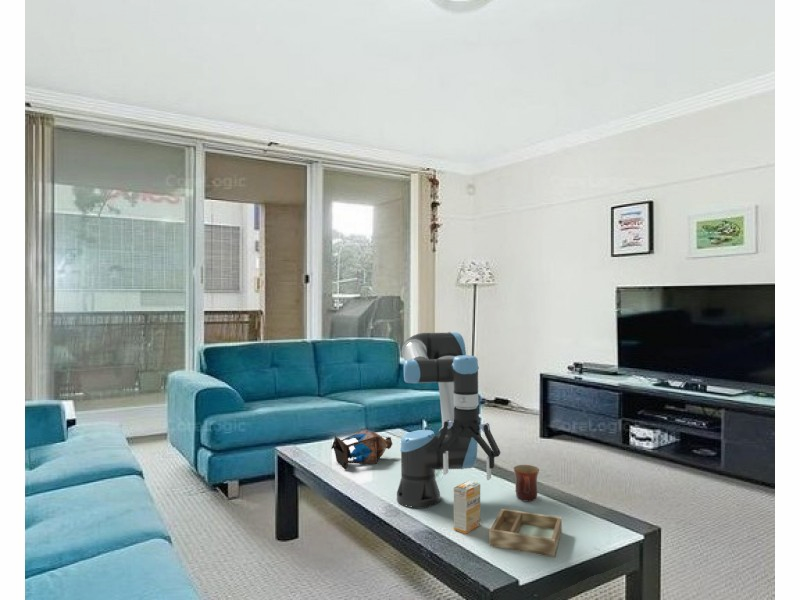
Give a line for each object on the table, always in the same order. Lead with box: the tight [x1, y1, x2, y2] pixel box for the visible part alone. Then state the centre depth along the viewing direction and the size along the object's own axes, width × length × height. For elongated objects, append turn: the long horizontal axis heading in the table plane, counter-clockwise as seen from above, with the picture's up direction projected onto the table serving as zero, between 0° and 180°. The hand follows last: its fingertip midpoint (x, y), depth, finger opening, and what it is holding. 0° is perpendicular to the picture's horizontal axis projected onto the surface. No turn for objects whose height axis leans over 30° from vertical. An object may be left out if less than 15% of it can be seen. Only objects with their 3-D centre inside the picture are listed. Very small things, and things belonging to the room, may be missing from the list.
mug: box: [513, 464, 540, 502], centre depth 185 cm, size 12×9×10 cm
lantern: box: [331, 428, 393, 470], centre depth 230 cm, size 16×16×25 cm
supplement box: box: [453, 480, 481, 535], centre depth 165 cm, size 8×5×13 cm, turn 139°
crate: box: [488, 508, 563, 558], centre depth 157 cm, size 18×16×4 cm
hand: (467, 476), depth 164 cm, fingers open, 13 cm apart
